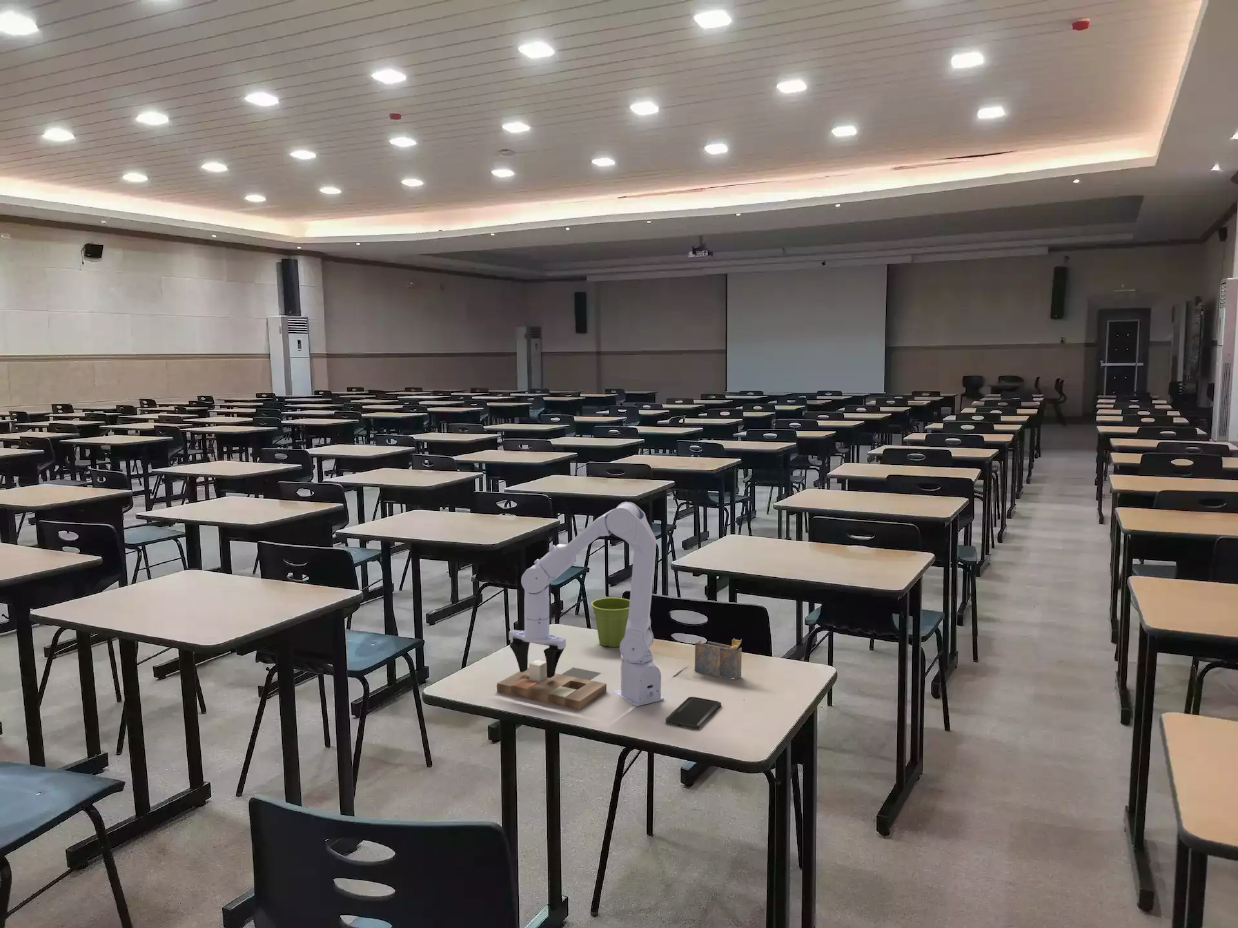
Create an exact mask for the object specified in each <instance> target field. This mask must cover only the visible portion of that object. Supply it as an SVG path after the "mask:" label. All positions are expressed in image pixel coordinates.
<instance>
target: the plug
mask: <svg viewBox="0 0 1238 928" xmlns="http://www.w3.org/2000/svg"><path fill="white" fill-rule="evenodd" d="M528 668H529V680H533V681H538V682H541V681H543V680H545V679H546V678H547V663H546V660H545V661H544V660H539V659H535V660H534V661H532V662H529V663H528Z"/></svg>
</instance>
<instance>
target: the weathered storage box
mask: <svg viewBox="0 0 1238 928" xmlns="http://www.w3.org/2000/svg"><path fill="white" fill-rule="evenodd" d="M741 644H742V638H741V639H740V640H739V639H735V637H734V638H733V639H731V645H729V644H723V643H719V642H712V641H707V643H704V642H703V643H702V640H701V639H699V640H697V641H695V643H694V671H695V672H699V673H703V674H707V675H712V676H717V677H720V676H722V677H721V678H725V677H726V679H729V678H734V679H737V678H739V677H740V676H741V677H742V657H743V656H742V655H743V654H742V652H743V651H742V650H743V649H742V647H740V645H741ZM739 647H740V648H739ZM741 677H740V678H741ZM740 678H739V679H740ZM734 679H733V680H734ZM737 680H738V679H737Z"/></svg>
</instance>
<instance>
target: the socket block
mask: <svg viewBox="0 0 1238 928" xmlns="http://www.w3.org/2000/svg"><path fill="white" fill-rule="evenodd" d="M562 674H563V673H556V672H555V675H554V676H553V677H551V678H546V679H545V680H543V681H541V682H538V681H533V680H529V667H527V670H526V671H524V672H520V670H519V671H517V672H515V673H513V674H512V675H510V676H508V677H505V678H504V679H502V680H499V681H498V682H497V683H496V692H498V693H503V694H507V695H511V696H516V697H521V698H525V699H529V700H534V701H539V702H543V703H546V704H551V705H555V706H560V707H564V708H568V709H574V710H578V711H580V710H582V709H583V708H585V707H586V706H588V705H589V704H591V703H592V702H594V701H595V700H596V699H598V698H599V697H601V696H602V695H604V694H605V693H607V683H606V682H601V681H595V680H592V679H591V680H586V679H581V678H576V677H571V676H567V675H562Z"/></svg>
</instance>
